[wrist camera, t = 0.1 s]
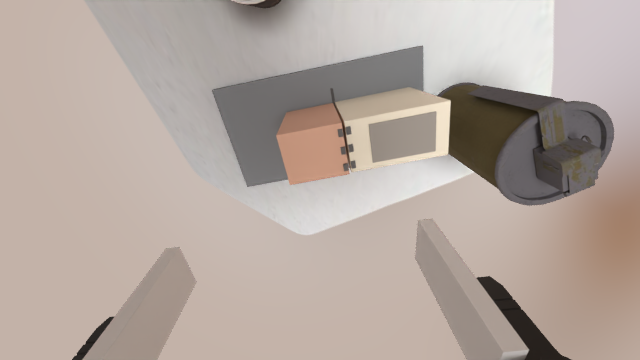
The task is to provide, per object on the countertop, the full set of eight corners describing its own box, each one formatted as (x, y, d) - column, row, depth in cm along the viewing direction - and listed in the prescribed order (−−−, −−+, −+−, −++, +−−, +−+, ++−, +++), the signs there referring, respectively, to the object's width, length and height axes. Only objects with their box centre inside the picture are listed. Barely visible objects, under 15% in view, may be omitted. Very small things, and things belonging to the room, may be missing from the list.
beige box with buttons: (334, 102, 37) (344, 122, 26) (409, 87, 36) (452, 100, 25) (340, 140, 39) (352, 173, 28) (410, 127, 39) (449, 155, 28)
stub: (286, 112, 37) (275, 136, 26) (332, 102, 36) (342, 123, 25) (295, 149, 39) (289, 186, 28) (339, 141, 39) (349, 175, 28)
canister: (497, 131, 40) (646, 191, 22) (434, 160, 42) (525, 237, 24) (483, 66, 36) (656, 75, 18) (414, 101, 38) (507, 142, 20)
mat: (213, 89, 36) (211, 90, 35) (421, 45, 34) (423, 45, 34) (248, 185, 43) (247, 186, 43) (421, 152, 41) (423, 154, 41)
